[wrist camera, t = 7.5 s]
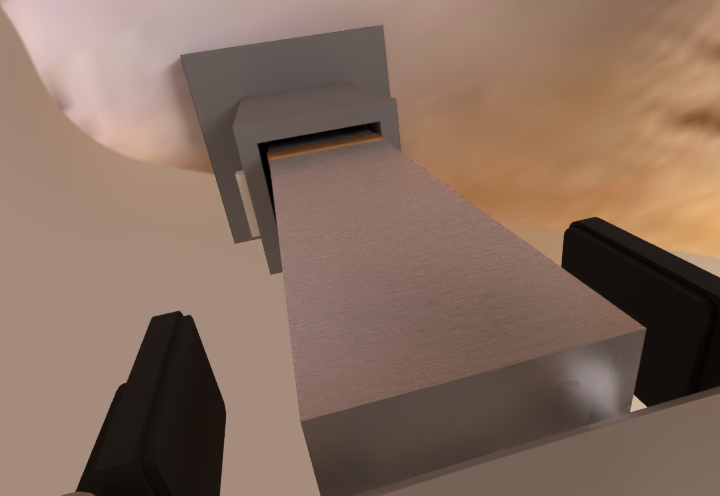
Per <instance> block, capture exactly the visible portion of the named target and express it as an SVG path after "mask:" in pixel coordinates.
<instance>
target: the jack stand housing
mask: <svg viewBox="0 0 720 496" xmlns="http://www.w3.org/2000/svg"><path fill="white" fill-rule="evenodd" d="M180 57H181V61H182V64H183V67H184V71H185V74H186V78H187V81H188V85H189V88H190V91H191V95H192V98H193V102H194V105H195V109H196V112H197V115H198V119H199V122H200V126H201V129H202V133H203V136H204V139H205V143H206V146H207V150H208V153H209V157H210V160H211V164H212V167H213V170H214V174H215V177H216V181H217V184H218V188H219V191H220V194H221V198H222V201H223V205H224V208H225V212H226V215H227V218H228V222H229V225H230V229H231V232H232V236H233V239H234V242H235V243H240V242H245V241H249V240H254V239H259V238H261V239H262V243H263V247H264V251H265V255H266V258H267V262H268V266H269V270H270V274H276V273H280V272H283V270H282V262H281V254H280V245H279V237H278V228H277V220H276V212H275V203H274V195H273V187H272V178H271V170H270V166H269V162H268V156H267V153H268V145H267V141H273V140H278V139H284V138H289V137H295V136H300V135H306V134H312V133H317V132H323V131H328V130H334V129H340V128H345V127H351V126H356V125H363V126H365V127H366V128H368V129H369V130H370V131H372V132H373V133H378V134H379V135H380V136H382V137H383V140H384V141H386V142H387V143H389V144H390V145H391V146H393V147H394V148H396V149H397V150H398V151H400V152H401V147H400V136H399V125H398V114H397V103H396V99H394V98H392V97H390V92H389V82H388V71H387V61H386V51H385V41H384V31H383V25H380V26H373V27H366V28H359V29H353V30H346V31H339V32H332V33H326V34H319V35H312V36H305V37H299V38H292V39H285V40H278V41H272V42H265V43H258V44H251V45H244V46H238V47H231V48H224V49H217V50H211V51H204V52H197V53H190V54H184V55H180Z"/></svg>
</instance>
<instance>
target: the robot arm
mask: <svg viewBox="0 0 720 496" xmlns="http://www.w3.org/2000/svg"><path fill="white" fill-rule="evenodd" d="M561 267H562V268H563V269H564V270H566V271H567V272H568V273H570V274H571V275H573V276H574V277H575V278H577V279H578V280H580V281H581V282H582V283H584V284H585V285H587V286H588V287H589V288H591V289H592V290H594V291H595V292H596V293H598V294H599V295H601V296H602V297H603V298H605V299H606V300H608V301H609V302H610V303H612V304H613V305H615V306H616V307H617V308H619V309H620V310H621V311H623V312H624V313H626V314H627V315H628V316H630V317H631V318H633V319H634V320H635V321H637V322H638V323H640V324H641V325H642V326H644V327H645V328H646V333H645V338H644V343H643V348H642V353H641V359H640V364H639V369H638V374H637V379H636V384H635V389H634V395H635V396H636V397H637V398H638V399H639V400H640V401H641V402H642V403H644V404H645V405H646V406H647V408H644V409H640V410H637V411H633V412H630V413H626V414H623V415H620V416H616V417H613V418H609V419H606V420H602V421H599V422H596V423H592V424H589V425H586V426H582V427H579V428H575V429H572V430H569V431H565V432H562V433H559V434H555V435H552V436H548V437H545V438H542V439H538V440H535V441H532V442H528V443H525V444H522V445H518V446H515V447H512V448H508V449H505V450H501V451H498V452H495V453H491V454H488V455H485V456H481V457H478V458H475V459H471V460H468V461H465V462H461V463H458V464H455V465H451V466H448V467H445V468H442V469H438V470H435V471H432V472H428V473H425V474H422V475H419V476H415V477H412V478H409V479H405V480H402V481H399V482H395V483H392V484H389V485H386V486H382V487H379V488H376V489H372V490H369V491H366V492H363V493H359V494H356V495H353V496H720V278H719V277H718V276H715V275H713V274H711V273H709V272H707V271H705V270H703V269H701V268H699V267H697V266H695V265H693V264H691V263H689V262H687V261H685V260H683V259H681V258H679V257H677V256H675V255H673V254H671V253H669V252H667V251H665V250H663V249H661V248H659V247H657V246H655V245H653V244H651V243H649V242H647V241H645V240H643V239H641V238H639V237H637V236H635V235H633V234H631V233H628V232H626V231H624V230H622V229H620V228H618V227H616V226H614V225H612V224H610V223H608V222H606V221H604V220H602V219H600V218H597V217H593V218H588V219H584V220H579V221H575V222H573V223H571V224H570V226H569V229H567V230H566V231H565V233H564V242H563V253H562V265H561ZM225 424H226V410H225V404H224V401H223V398H222V396H221V393H220V390H219V387H218V385H217V382H216V379H215V377H214V374H213V371H212V368H211V366H210V363H209V360H208V358H207V355H206V352H205V350H204V347H203V344H202V342H201V339H200V336H199V333H198V331H197V328H196V325H195V323H194V320H193V318H192V316H191V315H187V316H183V314H182V313H181V312H180V311H176V312H172V313H167V314H163V315H159V316H154V317H152V319H151V321H150V324H149V326H148V329H147V332H146V334H145V337H144V339H143V342H142V344H141V347H140V349H139V352H138V355H137V357H136V360H135V362H134V365H133V368H132V370H131V373H130V375H129V378H128V380H127V383H124V384H122V385H121V386H119V388H118V390H117V391H116V393H115V396H114V398H113V401H112V403H111V406H110V408H109V411H108V413H107V416H106V418H105V421H104V423H103V425H102V428H101V430H100V433H99V435H98V438H97V440H96V443H95V445H94V448H93V450H92V452H91V455H90V457H89V460H88V462H87V465H86V467H85V470H84V472H83V475H82V477H81V479H80V482H79V484H78V487H77V489H76V492H74V493H69V494H65V495H62V496H220V486H221V474H222V461H223V449H224V437H225Z"/></svg>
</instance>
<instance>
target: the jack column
mask: <svg viewBox="0 0 720 496" xmlns="http://www.w3.org/2000/svg"><path fill="white" fill-rule="evenodd" d="M267 145H268V153H267V156H268V162H269V166H270V170H271V178H272V187H273V195H274V203H275V212H276V220H277V228H278V237H279V245H280V254H281V262H282V270H283V279H284V286H285V295H286V304H287V312H288V321H289V329H290V337H291V346H292V354H293V363H294V371H295V379H296V388H297V396H298V404H299V413H300V421H301V425H302V429H303V432H304V436H305V440H306V443H307V447H308V451H309V455H310V458H311V462H312V465H313V469H314V473H315V477H316V480H317V484H318V488H319V491H320V495H321V496H353V495H356V494H359V493H363V492H366V491H369V490H372V489H376V488H379V487H382V486H386V485H389V484H392V483H395V482H399V481H402V480H405V479H409V478H412V477H415V476H419V475H422V474H425V473H428V472H432V471H435V470H438V469H442V468H445V467H448V466H451V465H455V464H458V463H461V462H465V461H468V460H471V459H475V458H478V457H481V456H485V455H488V454H491V453H495V452H498V451H501V450H505V449H508V448H512V447H515V446H518V445H522V444H525V443H528V442H532V441H535V440H538V439H542V438H545V437H548V436H552V435H555V434H559V433H562V432H565V431H569V430H572V429H575V428H579V427H582V426H586V425H589V424H592V423H596V422H599V421H602V420H606V419H609V418H613V417H616V416H620V415H623V414H626V413H630V409H631V404H632V399H633V394H634V389H635V384H636V379H637V374H638V369H639V364H640V359H641V353H642V348H643V343H644V338H645V333H646V328H645V327H644V326H642V325H641V324H640V323H638V322H637V321H635V320H634V319H633V318H631V317H630V316H628V315H627V314H626V313H624V312H623V311H621V310H620V309H619V308H617V307H616V306H615V305H613V304H612V303H610V302H609V301H608V300H606V299H605V298H603V297H602V296H601V295H599V294H598V293H596V292H595V291H594V290H592V289H591V288H589V287H588V286H587V285H585V284H584V283H582V282H581V281H580V280H578V279H577V278H575V277H574V276H573V275H571V274H570V273H568V272H567V271H566V270H564V269H563V268H562V267H560V266H559V265H557V264H556V263H555V262H553V261H552V260H550V259H549V258H548V257H546V256H545V255H543V254H542V253H540V252H539V251H538V250H536V249H535V248H534V247H532V246H531V245H529V244H527V242H525V241H524V240H522V239H521V238H520V237H518V236H517V235H515V234H514V233H513V232H511V231H510V230H508V229H507V228H506V227H504V226H503V225H502V224H500V223H499V222H497V221H496V220H495V219H493V218H492V217H490V216H489V215H488V214H486V213H485V212H483V211H482V210H481V209H479V208H478V207H476V206H475V205H474V204H472V203H471V202H469V201H468V200H467V199H465V198H464V197H463V196H461V195H460V194H458V193H457V192H456V191H454V190H453V189H451V188H450V187H449V186H447V185H446V184H444V183H443V182H442V181H440V180H439V179H437V178H436V177H435V176H433V175H432V174H430V173H429V172H428V171H426V170H425V169H423V168H422V167H421V166H419V165H418V164H416V163H415V162H414V161H412V160H411V159H410V158H408V157H407V156H405V155H404V154H403V153H401V152H400V151H398V150H397V149H396V148H394V147H393V146H391V145H390V144H389V143H387V142H386V141H384V140H383V137H382V136H380V135H379V134H378V133H373V132H372V131H370V130H369V129H368V128H366V127H365V126H363V125H356V126H351V127H345V128H340V129H334V130H328V131H323V132H317V133H312V134H306V135H300V136H295V137H289V138H284V139H278V140H273V141H267Z"/></svg>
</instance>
